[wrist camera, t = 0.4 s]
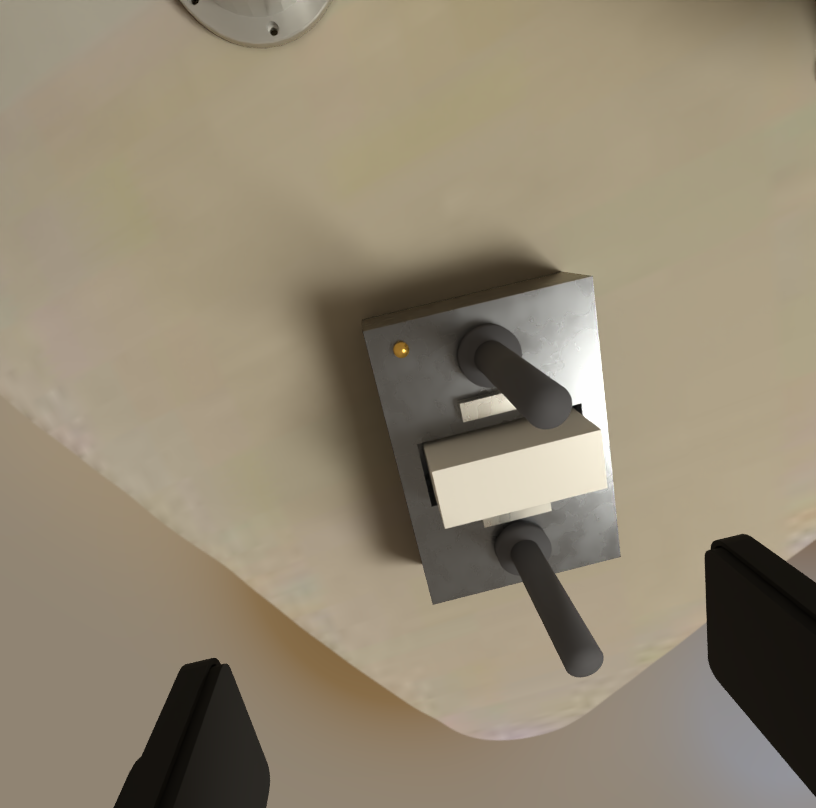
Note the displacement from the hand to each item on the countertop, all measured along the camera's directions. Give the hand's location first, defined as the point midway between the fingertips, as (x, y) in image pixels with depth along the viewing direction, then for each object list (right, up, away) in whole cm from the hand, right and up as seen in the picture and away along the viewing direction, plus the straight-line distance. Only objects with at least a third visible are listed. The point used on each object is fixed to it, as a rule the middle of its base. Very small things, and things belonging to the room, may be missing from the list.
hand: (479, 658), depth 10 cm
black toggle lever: (+9, -8, +35) cm, 37 cm away
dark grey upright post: (+5, +9, +30) cm, 31 cm away
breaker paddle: (+7, +1, +35) cm, 35 cm away
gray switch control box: (+6, +2, +38) cm, 39 cm away
